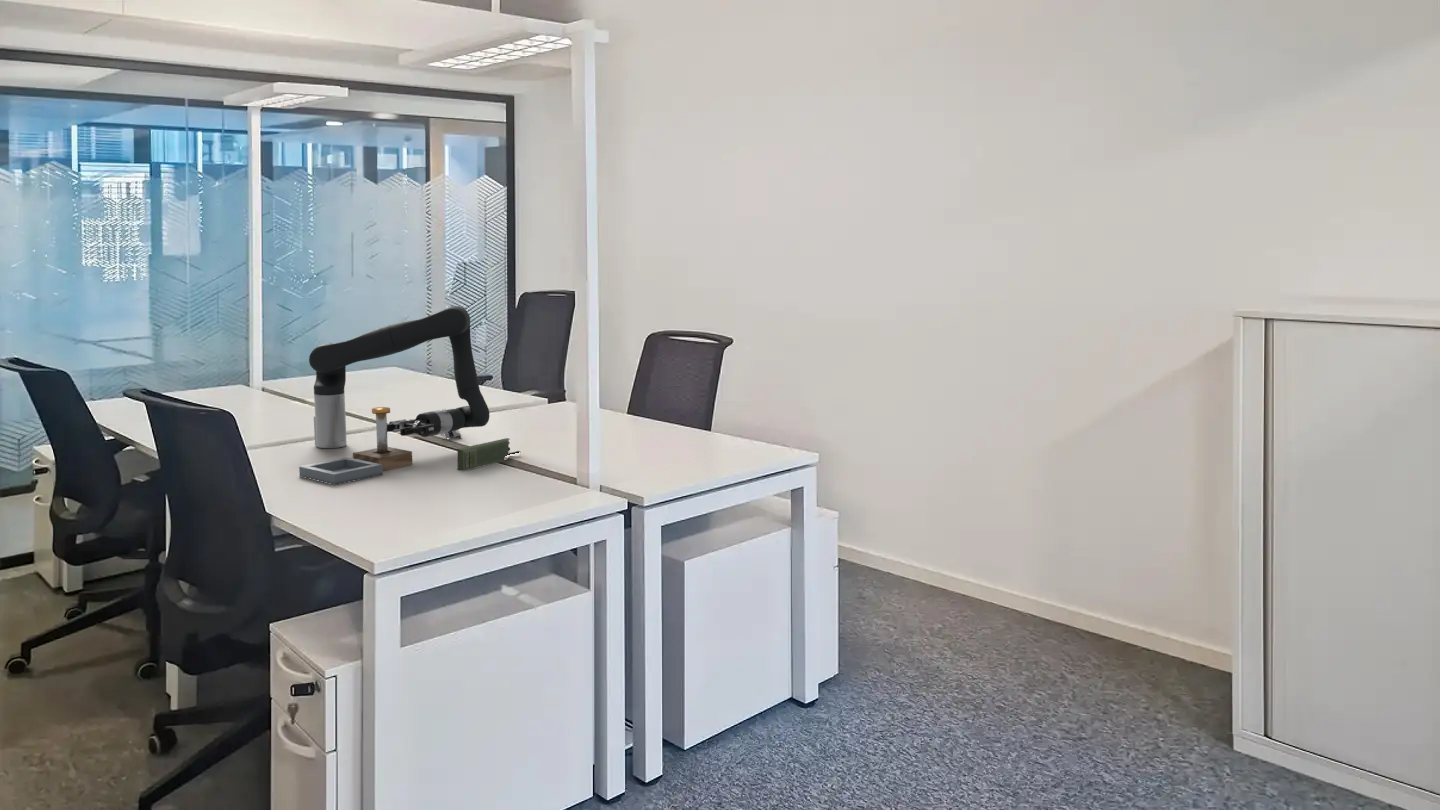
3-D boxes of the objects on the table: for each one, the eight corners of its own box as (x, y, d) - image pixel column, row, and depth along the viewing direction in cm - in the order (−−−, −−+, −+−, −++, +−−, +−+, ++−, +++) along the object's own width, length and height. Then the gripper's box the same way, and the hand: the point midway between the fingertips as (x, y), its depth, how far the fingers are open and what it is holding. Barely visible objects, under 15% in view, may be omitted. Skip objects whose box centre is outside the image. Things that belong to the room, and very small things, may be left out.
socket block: (353, 465, 318) (352, 452, 318) (386, 459, 328) (386, 446, 327) (379, 471, 311) (378, 458, 311) (412, 464, 321) (412, 451, 321)
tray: (299, 476, 304) (299, 466, 303) (347, 467, 317) (347, 457, 316) (334, 485, 295) (334, 474, 294) (382, 474, 308) (382, 464, 307)
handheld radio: (455, 470, 316) (515, 456, 336) (463, 472, 314) (523, 457, 335) (455, 448, 314) (515, 435, 335) (463, 450, 313) (523, 436, 333)
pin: (370, 465, 319) (368, 408, 316) (384, 462, 323) (382, 406, 320) (381, 467, 316) (379, 410, 313) (395, 464, 320) (393, 408, 318)
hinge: (462, 438, 361) (451, 411, 359) (449, 444, 360) (437, 417, 357) (456, 429, 377) (446, 403, 374) (444, 434, 376) (433, 408, 373)
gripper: (418, 408, 338) (376, 415, 324) (449, 413, 330) (407, 420, 316) (419, 432, 339) (376, 439, 326) (450, 437, 331) (407, 445, 318)
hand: (391, 430), depth 321 cm, fingers open, 8 cm apart
